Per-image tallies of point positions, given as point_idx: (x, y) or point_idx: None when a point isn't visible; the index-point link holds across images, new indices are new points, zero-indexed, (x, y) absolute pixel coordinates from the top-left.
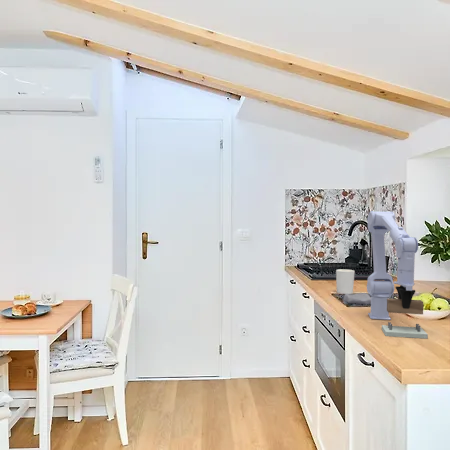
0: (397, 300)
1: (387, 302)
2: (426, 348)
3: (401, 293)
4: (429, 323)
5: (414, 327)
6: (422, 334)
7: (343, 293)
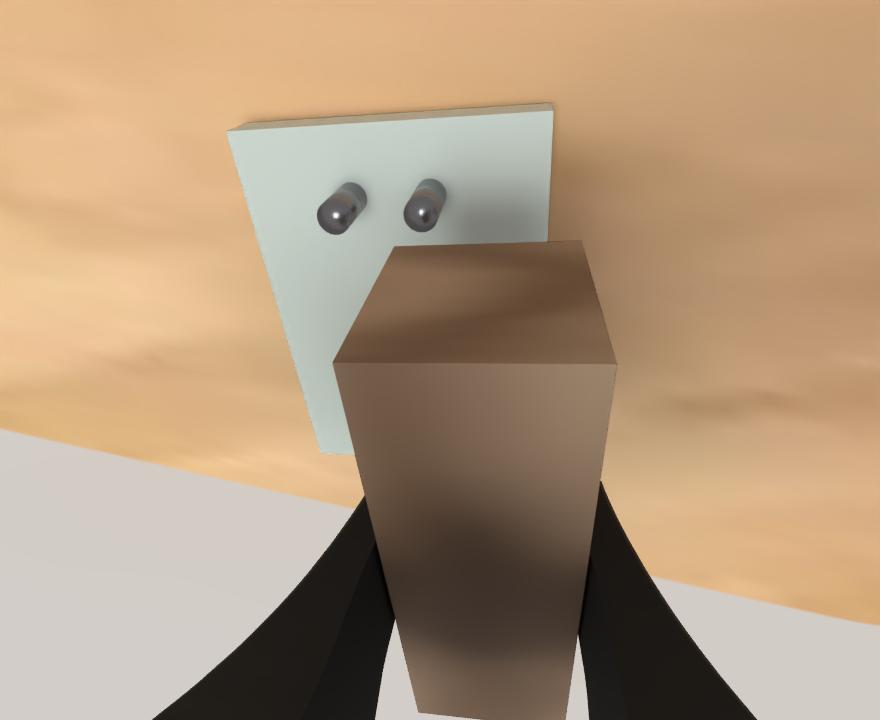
0: (404, 506)
1: (521, 318)
2: (75, 374)
3: (183, 702)
4: (834, 543)
5: None
6: (313, 423)
7: None
